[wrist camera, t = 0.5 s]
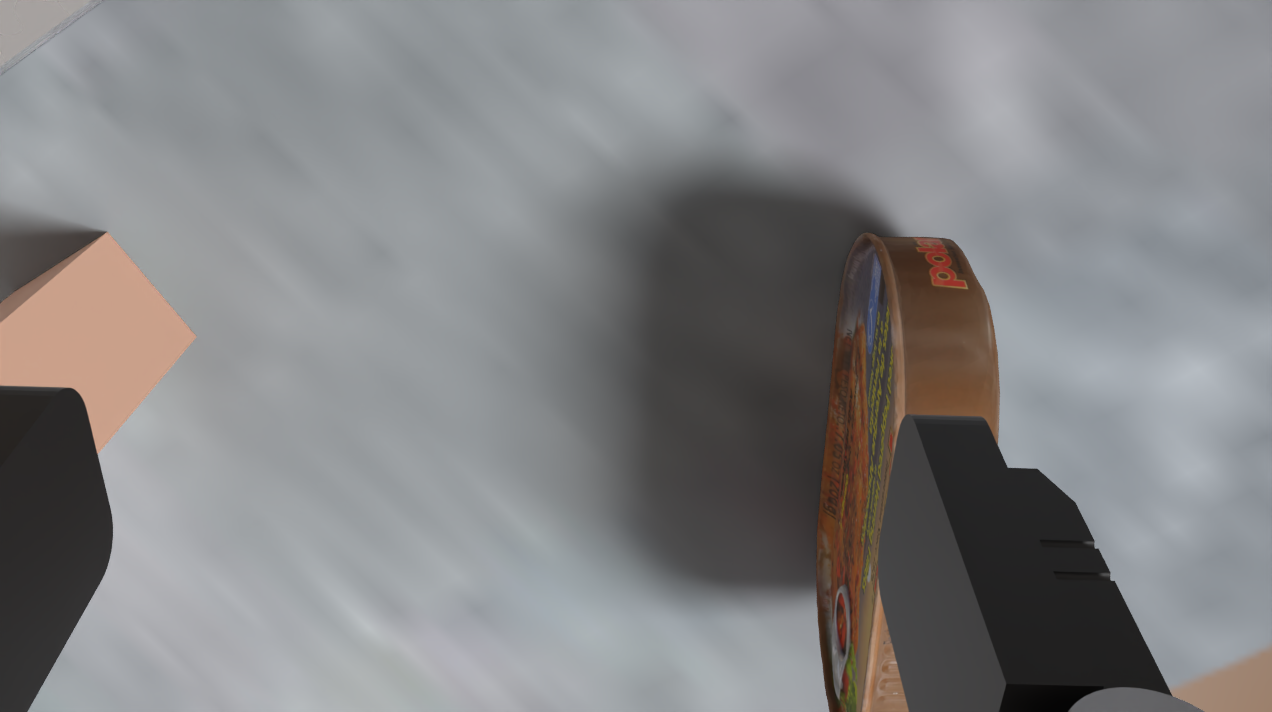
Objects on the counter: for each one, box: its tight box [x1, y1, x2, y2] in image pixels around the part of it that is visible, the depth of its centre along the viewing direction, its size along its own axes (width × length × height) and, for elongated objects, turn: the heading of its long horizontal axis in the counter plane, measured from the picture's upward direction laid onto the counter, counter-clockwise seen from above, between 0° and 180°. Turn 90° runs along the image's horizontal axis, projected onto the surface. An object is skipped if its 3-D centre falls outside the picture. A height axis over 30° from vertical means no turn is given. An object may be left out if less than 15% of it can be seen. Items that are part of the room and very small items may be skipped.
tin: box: [816, 233, 1000, 712], centre depth 33 cm, size 15×3×8 cm, turn 0°
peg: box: [0, 232, 196, 454], centre depth 33 cm, size 4×4×9 cm
